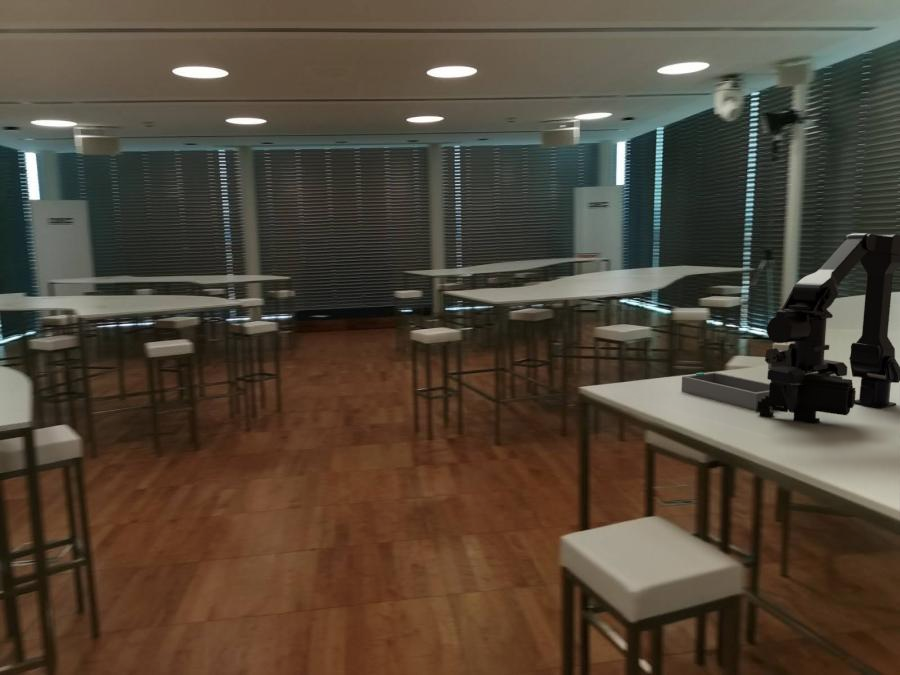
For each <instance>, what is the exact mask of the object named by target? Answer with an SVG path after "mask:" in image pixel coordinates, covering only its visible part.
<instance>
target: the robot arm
mask: <svg viewBox="0 0 900 675" xmlns="http://www.w3.org/2000/svg"><path fill="white" fill-rule="evenodd" d="M858 263H860V265H861V266H862V268H863V269H864V271H865V273H866V282H865V283H866V284H865V295H864V304H863V305H864V306H863V319H862V320H863V321H862V331H861V336H860V338H859V339H858V340H857V341H856V342H852V343H851V345H850V354H849V365H850V370H851V376H852V377H854V378H861V379H860V386H859V396H858V397H859V398H858V399H855V402H854V404H857V405H863V406H868V407H872V408H877V409H883V408H889V407H895V406H897V402H892V401H890V398H891V397H890V396H891V385H892V383H896V384H897V383H898V384H899V383H900V364H899V363H898V361H897V360H896V350H895V347H894V345H893V343H892V342H891V340H890V338H889V336H888V333H889V323H890V310H891V301H892V289H893V278H894V273H895V272H896V271H897V270H898V269H899V267H900V234H873V233H871V232H870V233H869V232H857V233H854V232H853V233H850V234H847V235H846V236H845V238H844V240H843V243H842V244H841V245H840V246H839V247H838V248H837V249H836V250H835V252H833V254H832V255H831V256H830V257H829V258H828V259H827V260H826V261H825V263H823V265H821V267H820V268H819V269H818V270H817V271H815V272H814V273H810V274H807V275H806V276H804V277H803V278H801V279H800V280H799V281H798V282H796V283H795V284H794V285H793V287H792V289H791V291H790V293H789V295H788V297H787V298H786V301H785V302H784V303H783V306H782V308H781V309H780V310H776V316H774V317H772V318H771V319H770V320H769V322H768V324H767V326H766V332H767V336H768V338H769V339H770V340H771V341H772V342H774V343H787V342H795V343H790V345H789V348H788V350H786V351H780V352H779V351H778V349H777V348H775V349H773V348H769V349H766V350H765V355H764V358H765V359H764V361H765V362H766V364H767V365H768V364H771V368H770V369H768V370H767V376H766V379H767V380H770V381H771V380H772V382H773V383H776V384H777V385H778V386H779V387H780V388H781V390H782V392H783V395H784V398H785V401H786V404H787V407H788V412H789V413H792V414H794V412H795V410H796V408H797V405H798V403H799V400H800V397H801V394H802V391H803V389H804V386H805V384H803V383H802V382H803V380H804V378H805V376H809V375H812V376H821V377H831V378H840V379H843V377H845V376H848V366H847V365H846V363H844V362H843V361H836V360H830V359H825V351H828V350H830V344H826V333H827V319H832V318H833V317H834V315H833V314H832V313H831V312H830V311H829V310H828V309H829V308H830V307H831V306H832V304H833V303H834V301H835V300H836V298H837V297H838V295H839V285H840V284H841V282H843V280H844V279H845V278H846V277H847V276H848V275H849V273H850V272H851V271H852V270H853V268H855V267H856V266H857V264H858ZM793 367H794V368H793ZM811 370H812V371H811ZM804 371H805V372H804Z"/></svg>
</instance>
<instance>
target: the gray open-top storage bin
mask: <svg viewBox="0 0 900 675" xmlns="http://www.w3.org/2000/svg"><path fill="white" fill-rule="evenodd" d="M769 389H770V383H767V382H763V381H758V380H753V379H748V378H743V377H739V376H734V375H728V374H724V373H719V372H707V373H705V372H696V373H695V374H692V375H691V374H690V375H684V376H681V392H682V393H688V394H691V395H695V396H699V397H703V398H706V399H711V400H713V401H714V400H715V401H719V402H722V403H725V404H730V405H734V406H737V407H741V408H746V409H749V410H754V411H756V409H757V406H758V401H761V399H762V398H765V396H766V395H768V396H769ZM769 407H770V406H769Z"/></svg>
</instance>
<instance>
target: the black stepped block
mask: <svg viewBox="0 0 900 675" xmlns="http://www.w3.org/2000/svg"><path fill="white" fill-rule="evenodd" d="M802 383H803V384H805V386H804V389H803V391H802V394H801V397H800V400H799V403H798V405H797V408H796V410H795V412H794V413H793V422H799V423H805V424H806V423H807V424H819V423H820V418H819V417H818V418H817V412H820V413H825V414H833V415H840V416H848V414H849V413H850V412H851V409H853V408H854V406H855V403H854V402H855V400H856V387H854V386H853V384H854V383H853V379H850V378H848V379H847V378H842V379H840V378H831V377H821V376H812V375H809V376H805V378H804V380H803V382H802ZM769 384H770V389H769V396H768V395H766V396H765V398H762V399H761V401H758V406H757V409H756V410H755V411H756V413H759V416H760V417H766V418H772V417H773V416H774V411H777V412H783V413H788V412H789V410H788V407H787V404H786V401H785V398H784V395H783V392H782V390H781V388H780V387H779V386H778V385H777V384H776V383H773V382H772V380H770V382H769ZM769 406H770V407H771V408H769ZM771 410H772V411H771Z"/></svg>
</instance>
